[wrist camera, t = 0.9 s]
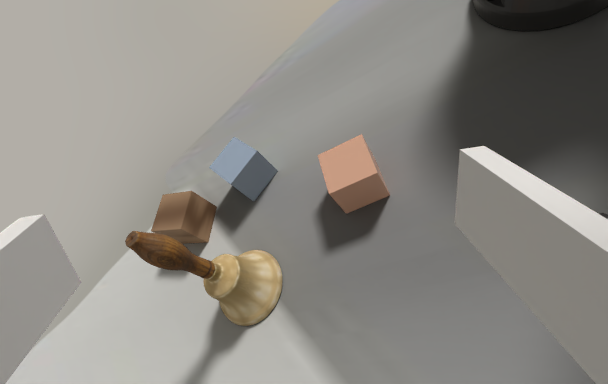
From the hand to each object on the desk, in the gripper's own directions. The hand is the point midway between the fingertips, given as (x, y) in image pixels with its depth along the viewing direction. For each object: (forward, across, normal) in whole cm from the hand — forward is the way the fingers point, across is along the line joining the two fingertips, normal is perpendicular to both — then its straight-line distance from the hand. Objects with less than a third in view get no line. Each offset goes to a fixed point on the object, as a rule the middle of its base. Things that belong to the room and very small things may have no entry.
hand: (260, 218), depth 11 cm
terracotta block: (+24, +8, -12) cm, 28 cm away
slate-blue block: (+32, -5, -12) cm, 35 cm away
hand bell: (+21, -6, -20) cm, 30 cm away
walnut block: (+31, -13, -17) cm, 38 cm away
